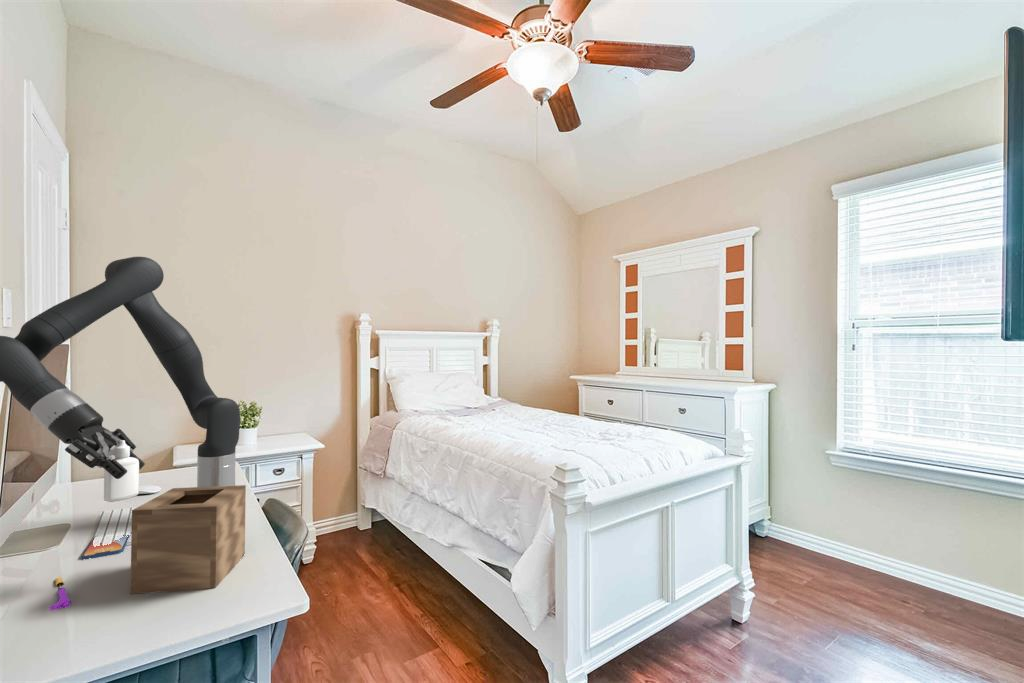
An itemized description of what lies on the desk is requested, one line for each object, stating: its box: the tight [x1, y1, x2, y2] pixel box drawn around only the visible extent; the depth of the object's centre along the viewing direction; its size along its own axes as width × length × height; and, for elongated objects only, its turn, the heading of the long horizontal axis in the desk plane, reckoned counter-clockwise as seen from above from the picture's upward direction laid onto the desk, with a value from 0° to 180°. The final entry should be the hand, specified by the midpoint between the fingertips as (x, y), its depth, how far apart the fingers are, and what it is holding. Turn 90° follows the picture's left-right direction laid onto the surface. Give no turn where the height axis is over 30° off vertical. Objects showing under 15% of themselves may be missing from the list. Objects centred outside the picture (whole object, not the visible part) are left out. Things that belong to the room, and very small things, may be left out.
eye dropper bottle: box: [103, 440, 140, 503], centre depth 99 cm, size 4×6×12 cm
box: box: [129, 484, 247, 595], centre depth 100 cm, size 15×15×16 cm
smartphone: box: [81, 535, 130, 560], centre depth 115 cm, size 7×15×1 cm, turn 32°
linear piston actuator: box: [48, 576, 71, 612], centre depth 92 cm, size 3×1×16 cm
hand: (131, 471), depth 100 cm, fingers closed on eye dropper bottle, 5 cm apart
